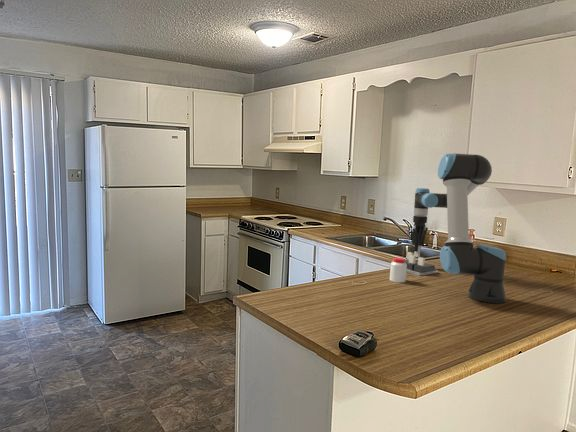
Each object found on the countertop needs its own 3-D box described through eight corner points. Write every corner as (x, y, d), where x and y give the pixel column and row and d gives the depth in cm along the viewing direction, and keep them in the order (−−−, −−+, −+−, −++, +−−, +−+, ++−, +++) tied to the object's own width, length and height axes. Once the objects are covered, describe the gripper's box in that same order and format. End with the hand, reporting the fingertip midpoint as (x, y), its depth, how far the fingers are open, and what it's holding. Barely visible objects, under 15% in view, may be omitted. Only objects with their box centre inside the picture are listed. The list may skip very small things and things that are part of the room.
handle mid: (415, 263, 237) (415, 256, 236) (413, 263, 235) (413, 256, 235) (410, 262, 239) (411, 254, 238) (408, 262, 238) (409, 255, 237)
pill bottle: (404, 279, 219) (405, 257, 218) (406, 283, 212) (408, 260, 210) (388, 277, 220) (390, 256, 219) (390, 281, 212) (392, 259, 211)
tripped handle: (413, 260, 245) (413, 252, 244) (411, 260, 244) (411, 252, 243) (408, 259, 247) (409, 251, 247) (406, 259, 246) (407, 251, 246)
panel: (437, 272, 237) (438, 265, 236) (418, 275, 228) (419, 267, 227) (410, 265, 251) (411, 258, 251) (392, 268, 242) (392, 260, 242)
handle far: (424, 265, 232) (425, 258, 231) (422, 266, 231) (422, 258, 230) (419, 264, 234) (420, 257, 234) (417, 264, 233) (418, 257, 233)
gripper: (422, 214, 253) (418, 254, 256) (407, 215, 245) (404, 256, 248) (433, 216, 247) (429, 257, 249) (418, 216, 239) (414, 259, 242)
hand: (416, 256), depth 249 cm, fingers closed
